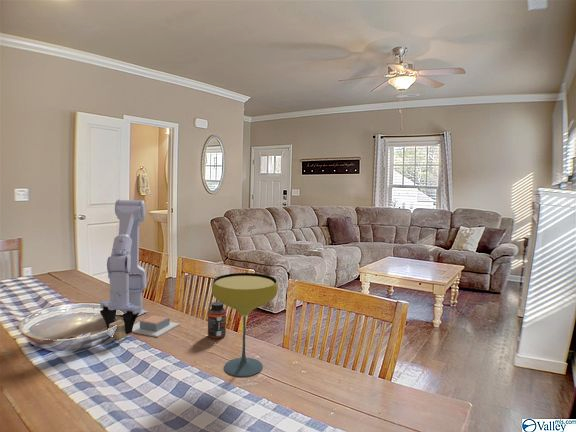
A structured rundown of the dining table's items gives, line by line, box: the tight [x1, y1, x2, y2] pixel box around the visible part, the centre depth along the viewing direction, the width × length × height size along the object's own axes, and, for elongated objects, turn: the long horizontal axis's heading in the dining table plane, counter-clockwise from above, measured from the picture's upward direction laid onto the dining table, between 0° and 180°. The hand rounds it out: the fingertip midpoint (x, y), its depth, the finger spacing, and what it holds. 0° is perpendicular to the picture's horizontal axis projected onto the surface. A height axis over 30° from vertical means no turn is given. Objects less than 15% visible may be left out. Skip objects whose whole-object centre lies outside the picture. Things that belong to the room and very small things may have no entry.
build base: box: [131, 314, 181, 338], centre depth 134 cm, size 14×12×3 cm
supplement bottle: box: [207, 301, 227, 340], centre depth 128 cm, size 6×6×11 cm
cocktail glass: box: [211, 272, 279, 378], centre depth 107 cm, size 18×18×25 cm
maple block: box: [109, 319, 131, 340], centre depth 126 cm, size 4×4×4 cm
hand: (119, 331), depth 126 cm, fingers open, 7 cm apart
